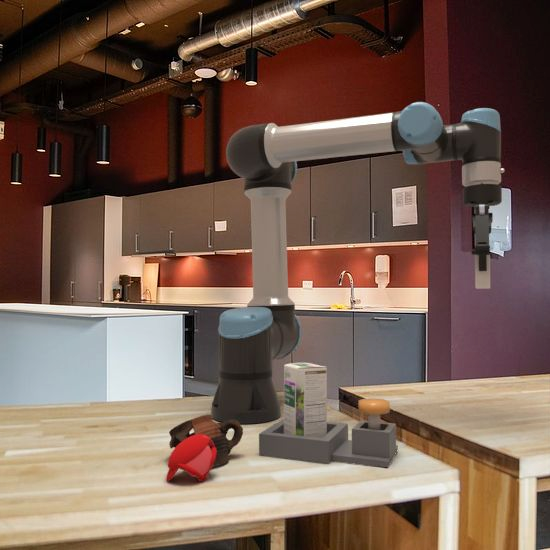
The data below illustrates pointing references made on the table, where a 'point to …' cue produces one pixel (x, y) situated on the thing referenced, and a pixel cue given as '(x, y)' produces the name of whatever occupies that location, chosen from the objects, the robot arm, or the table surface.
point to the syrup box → (305, 399)
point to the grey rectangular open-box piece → (333, 444)
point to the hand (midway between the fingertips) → (483, 288)
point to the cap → (193, 457)
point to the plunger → (374, 411)
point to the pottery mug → (209, 434)
